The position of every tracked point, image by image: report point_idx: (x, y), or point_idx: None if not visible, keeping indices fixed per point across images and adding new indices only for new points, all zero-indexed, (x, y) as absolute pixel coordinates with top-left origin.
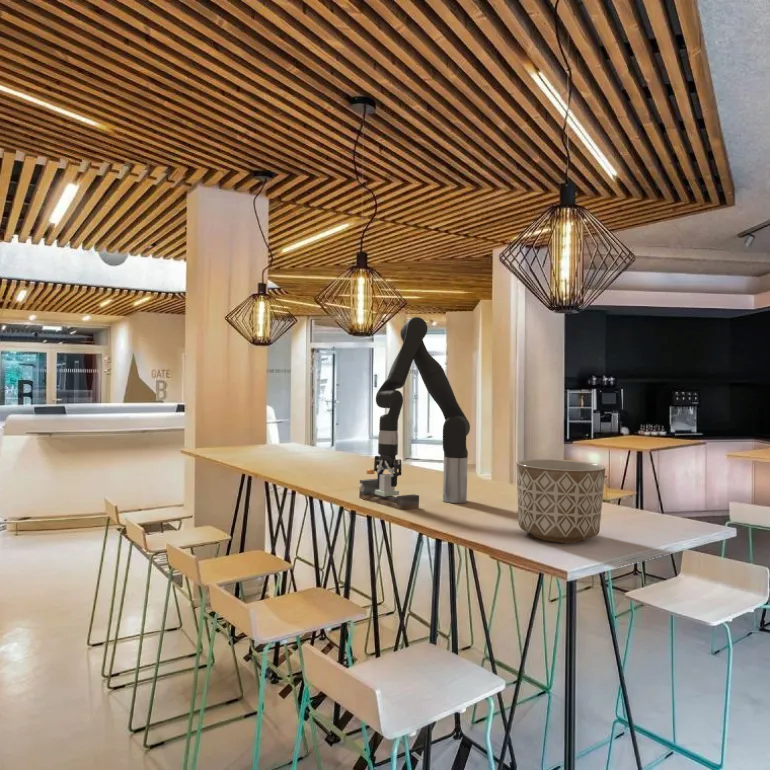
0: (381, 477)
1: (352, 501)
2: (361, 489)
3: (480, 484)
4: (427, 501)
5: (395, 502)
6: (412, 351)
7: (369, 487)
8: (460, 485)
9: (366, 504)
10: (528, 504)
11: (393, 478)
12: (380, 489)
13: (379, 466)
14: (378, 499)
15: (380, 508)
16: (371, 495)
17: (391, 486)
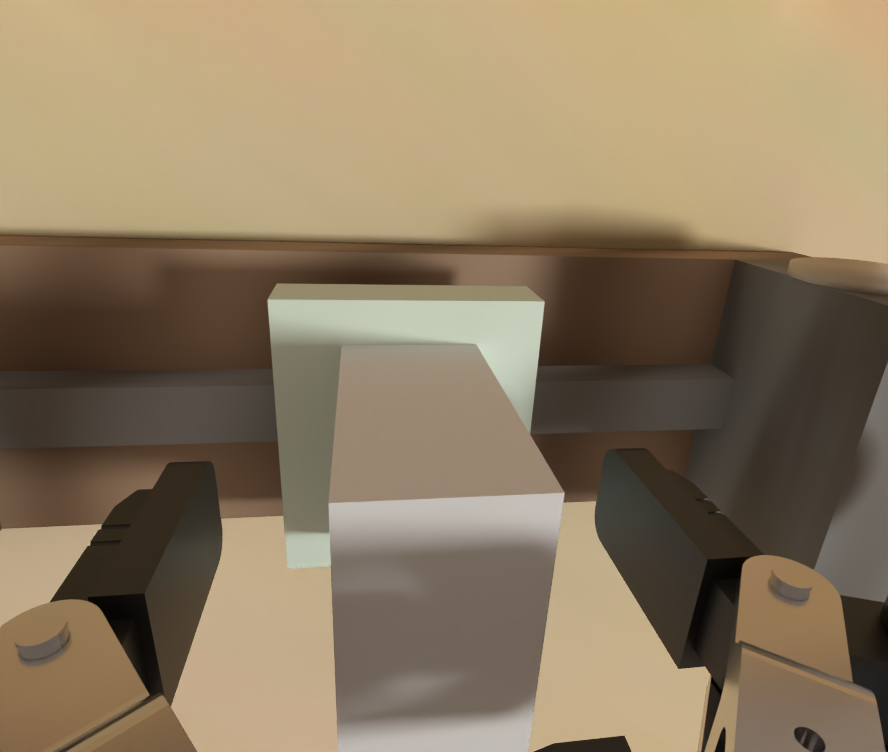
0: (464, 459)
1: (694, 4)
2: (832, 263)
3: None
4: (235, 730)
5: (72, 320)
6: None
7: (777, 381)
8: None
9: (414, 41)
10: None
11: (94, 594)
12: (445, 350)
13: (812, 740)
14: (395, 252)
15: (49, 22)
16: (659, 338)
17: (212, 464)
